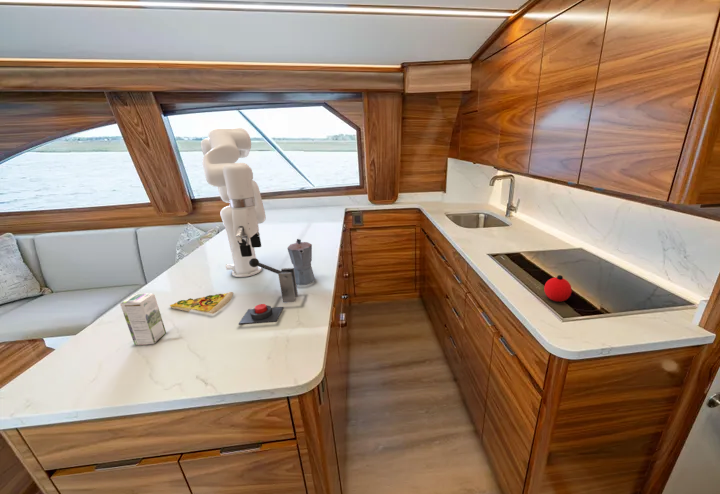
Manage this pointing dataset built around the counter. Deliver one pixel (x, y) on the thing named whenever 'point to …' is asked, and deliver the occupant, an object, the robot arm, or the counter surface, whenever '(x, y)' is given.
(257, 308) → the button
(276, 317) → the control block
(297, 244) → the moka pot
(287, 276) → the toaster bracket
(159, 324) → the syrup box
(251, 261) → the lever
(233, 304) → the counter surface
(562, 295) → the ornament
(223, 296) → the pizza slice
